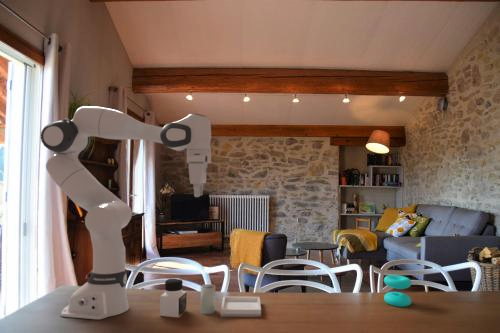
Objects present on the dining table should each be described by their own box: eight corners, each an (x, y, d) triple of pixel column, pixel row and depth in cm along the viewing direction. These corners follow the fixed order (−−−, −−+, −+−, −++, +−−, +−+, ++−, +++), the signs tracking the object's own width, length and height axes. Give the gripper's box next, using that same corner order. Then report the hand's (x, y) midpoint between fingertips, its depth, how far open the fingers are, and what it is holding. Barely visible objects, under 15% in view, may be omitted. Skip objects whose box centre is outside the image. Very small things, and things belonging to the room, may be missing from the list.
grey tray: (220, 316, 130) (220, 309, 130) (223, 303, 144) (223, 296, 144) (261, 317, 130) (261, 309, 130) (259, 303, 144) (259, 296, 144)
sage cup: (199, 314, 132) (200, 288, 132) (201, 309, 137) (201, 284, 138) (214, 314, 132) (214, 288, 133) (215, 309, 138) (215, 284, 138)
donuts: (387, 280, 142) (381, 273, 152) (387, 307, 142) (381, 298, 151) (415, 281, 141) (406, 274, 151) (415, 308, 141) (406, 299, 150)
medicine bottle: (178, 318, 128) (179, 282, 129) (159, 316, 130) (160, 281, 130) (186, 310, 135) (187, 277, 136) (168, 309, 137) (168, 276, 137)
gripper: (194, 159, 147) (193, 194, 147) (186, 157, 127) (185, 197, 127) (210, 159, 147) (209, 194, 147) (204, 157, 127) (204, 197, 127)
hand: (198, 196), depth 137 cm, fingers open, 8 cm apart
